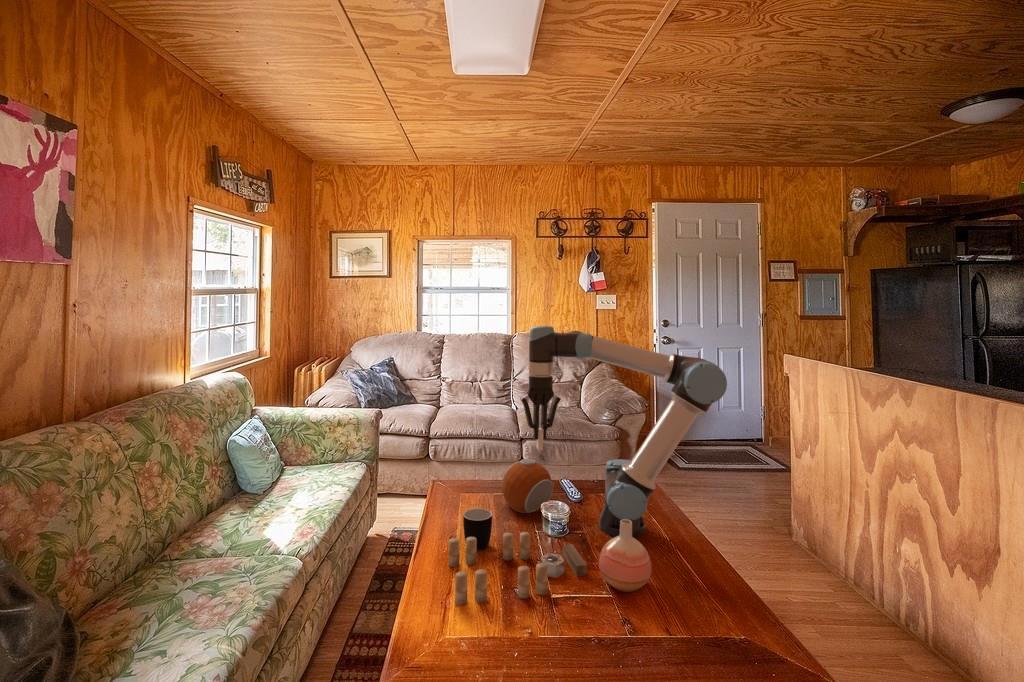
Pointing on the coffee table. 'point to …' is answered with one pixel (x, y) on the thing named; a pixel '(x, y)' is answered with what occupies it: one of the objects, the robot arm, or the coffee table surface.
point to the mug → (478, 526)
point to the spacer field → (482, 574)
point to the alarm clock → (526, 486)
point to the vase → (625, 560)
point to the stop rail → (574, 560)
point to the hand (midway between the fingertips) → (539, 449)
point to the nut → (553, 564)
